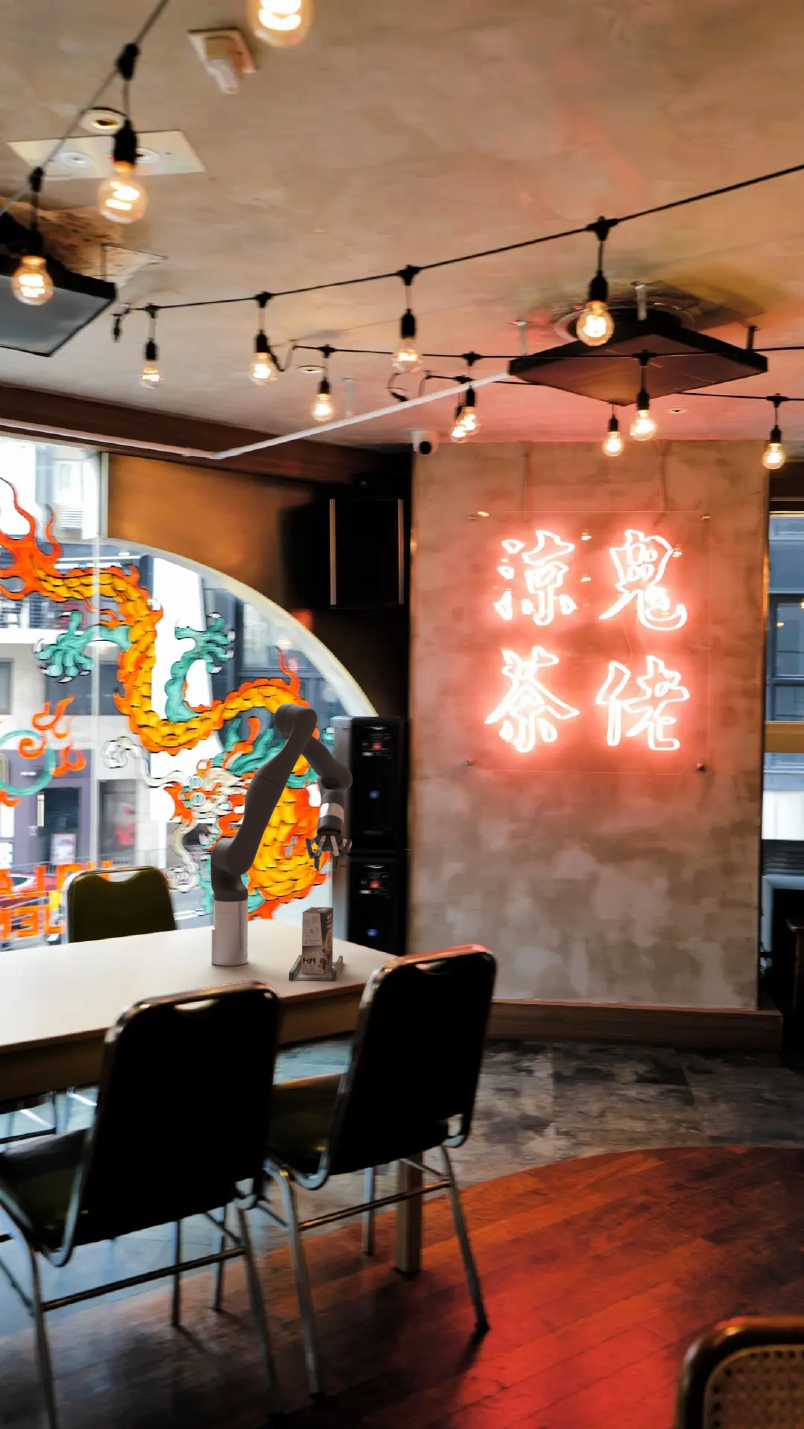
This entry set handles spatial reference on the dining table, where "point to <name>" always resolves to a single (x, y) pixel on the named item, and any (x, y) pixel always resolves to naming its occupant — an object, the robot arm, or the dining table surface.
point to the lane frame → (334, 977)
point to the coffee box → (317, 940)
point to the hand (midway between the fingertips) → (326, 868)
